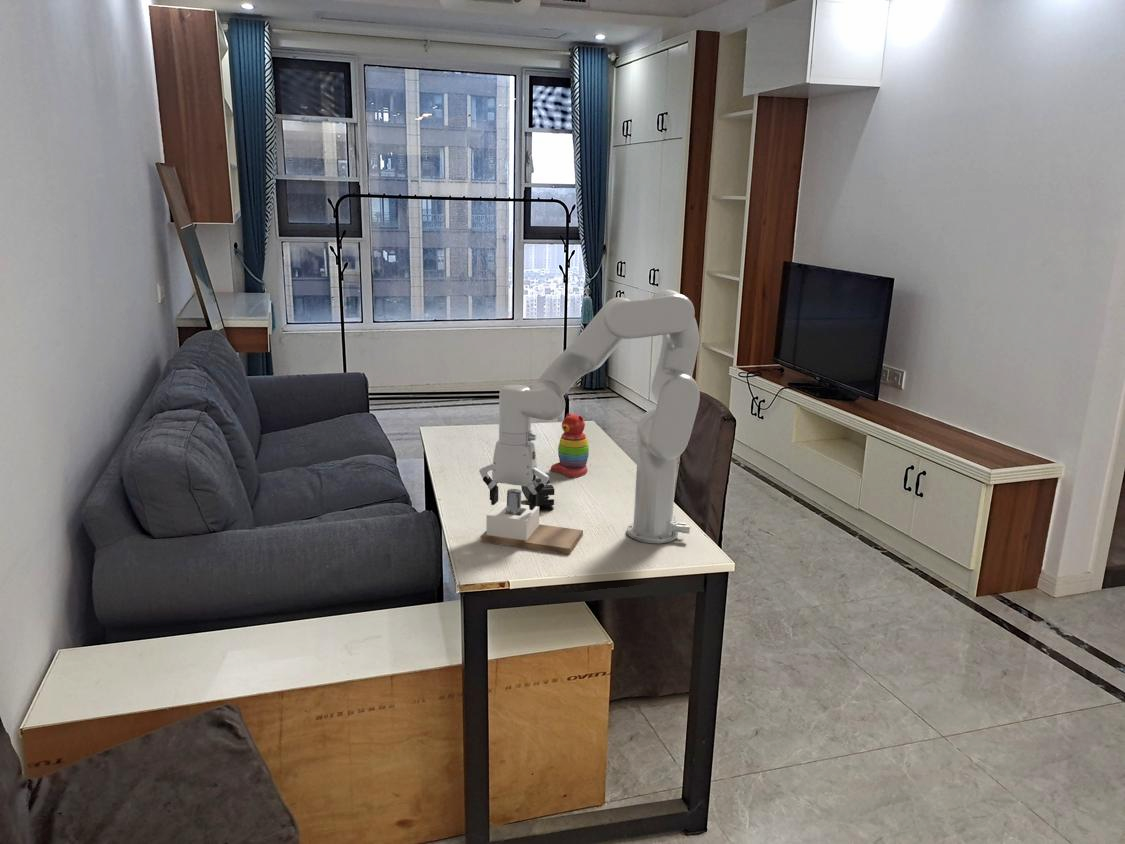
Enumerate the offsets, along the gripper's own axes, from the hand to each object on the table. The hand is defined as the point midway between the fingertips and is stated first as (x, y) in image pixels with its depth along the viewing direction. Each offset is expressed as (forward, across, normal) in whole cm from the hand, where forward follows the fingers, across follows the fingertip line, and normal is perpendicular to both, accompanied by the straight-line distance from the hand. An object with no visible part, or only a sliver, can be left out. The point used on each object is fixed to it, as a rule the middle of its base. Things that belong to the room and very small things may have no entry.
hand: (513, 505), depth 200 cm
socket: (+6, 0, 0) cm, 6 cm away
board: (+8, -5, 0) cm, 9 cm away
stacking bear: (+8, 0, -55) cm, 56 cm away
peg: (+6, 0, 0) cm, 6 cm away
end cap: (+8, +1, -23) cm, 24 cm away
